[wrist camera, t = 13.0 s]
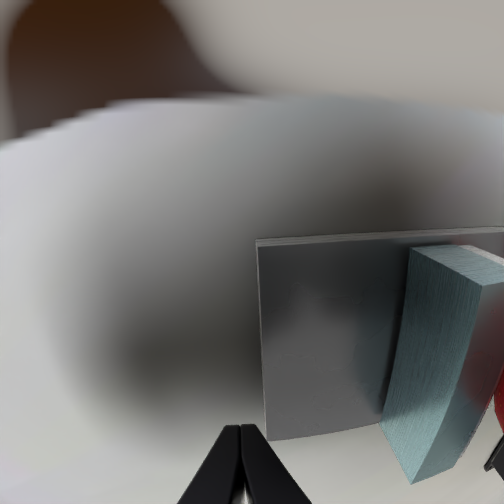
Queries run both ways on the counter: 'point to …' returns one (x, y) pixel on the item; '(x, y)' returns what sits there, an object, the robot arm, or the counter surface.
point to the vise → (337, 323)
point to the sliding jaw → (444, 356)
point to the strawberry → (500, 401)
